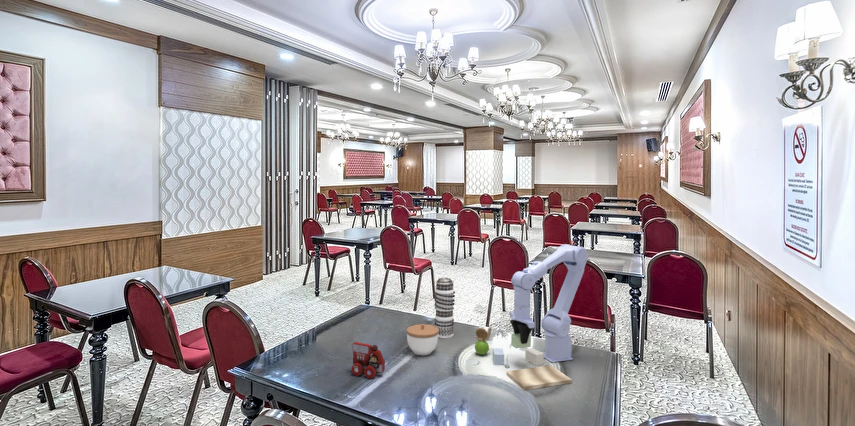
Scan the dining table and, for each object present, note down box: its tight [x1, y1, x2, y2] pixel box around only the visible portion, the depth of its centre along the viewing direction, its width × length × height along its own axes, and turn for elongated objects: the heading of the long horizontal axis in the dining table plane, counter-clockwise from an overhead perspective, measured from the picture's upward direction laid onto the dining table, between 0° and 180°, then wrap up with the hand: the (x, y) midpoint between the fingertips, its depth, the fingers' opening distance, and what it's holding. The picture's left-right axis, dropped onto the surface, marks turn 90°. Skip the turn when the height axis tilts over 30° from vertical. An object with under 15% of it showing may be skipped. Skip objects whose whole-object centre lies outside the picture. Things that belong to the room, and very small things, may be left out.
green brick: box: [510, 333, 532, 349], centre depth 157 cm, size 6×4×4 cm, turn 107°
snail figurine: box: [474, 324, 493, 356], centre depth 167 cm, size 5×6×12 cm
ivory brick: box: [524, 347, 545, 366], centre depth 161 cm, size 6×4×4 cm, turn 27°
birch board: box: [505, 364, 573, 391], centre depth 146 cm, size 18×12×1 cm, turn 108°
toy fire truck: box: [350, 341, 386, 380], centre depth 149 cm, size 7×12×10 cm, turn 68°
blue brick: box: [492, 347, 505, 366], centre depth 161 cm, size 6×4×4 cm, turn 177°
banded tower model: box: [433, 277, 456, 339], centre depth 188 cm, size 9×9×25 cm
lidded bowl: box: [406, 323, 439, 356], centre depth 169 cm, size 13×13×11 cm
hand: (521, 341), depth 157 cm, fingers closed on green brick, 3 cm apart
